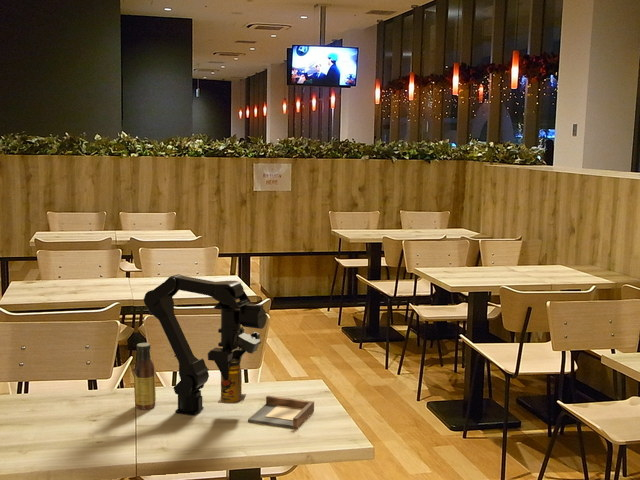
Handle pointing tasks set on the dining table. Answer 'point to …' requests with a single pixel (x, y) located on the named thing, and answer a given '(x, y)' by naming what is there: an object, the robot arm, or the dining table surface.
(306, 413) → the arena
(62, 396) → the dining table surface
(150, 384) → the sauce bottle
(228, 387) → the condiment
